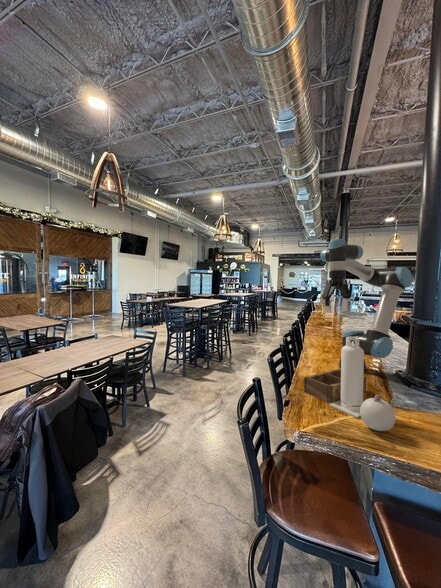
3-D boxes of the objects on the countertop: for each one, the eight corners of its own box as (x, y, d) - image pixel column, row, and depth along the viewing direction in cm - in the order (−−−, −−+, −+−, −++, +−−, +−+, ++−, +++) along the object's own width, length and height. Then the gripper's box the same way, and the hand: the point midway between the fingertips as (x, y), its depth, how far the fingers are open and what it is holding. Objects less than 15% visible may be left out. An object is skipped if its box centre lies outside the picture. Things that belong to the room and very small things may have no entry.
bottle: (337, 406, 106) (338, 337, 105) (344, 400, 112) (345, 335, 111) (359, 413, 100) (360, 340, 99) (365, 406, 106) (366, 337, 105)
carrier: (339, 382, 135) (339, 368, 135) (366, 391, 123) (366, 376, 123) (304, 392, 122) (304, 377, 122) (330, 403, 110) (330, 387, 110)
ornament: (381, 440, 83) (382, 403, 83) (353, 424, 93) (354, 391, 92) (401, 433, 87) (402, 397, 87) (373, 419, 97) (373, 387, 97)
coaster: (346, 399, 114) (346, 398, 114) (374, 410, 104) (374, 409, 104) (328, 405, 108) (328, 404, 108) (356, 418, 98) (356, 416, 98)
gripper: (345, 271, 142) (345, 310, 143) (314, 269, 130) (314, 312, 130) (358, 270, 136) (358, 311, 137) (327, 268, 123) (327, 313, 124)
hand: (336, 311), depth 133 cm, fingers open, 13 cm apart
